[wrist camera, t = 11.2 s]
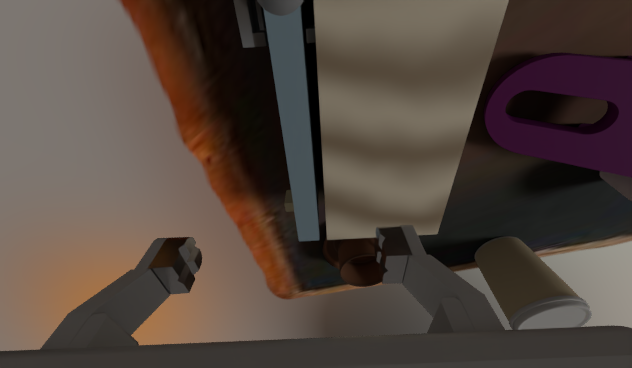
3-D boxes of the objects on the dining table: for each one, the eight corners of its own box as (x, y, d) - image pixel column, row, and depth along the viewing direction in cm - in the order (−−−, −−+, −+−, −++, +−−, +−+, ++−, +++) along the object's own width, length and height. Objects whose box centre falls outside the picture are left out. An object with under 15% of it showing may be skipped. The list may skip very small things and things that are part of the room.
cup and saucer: (328, 208, 37) (331, 240, 32) (406, 215, 38) (420, 247, 33) (317, 260, 44) (318, 292, 39) (383, 265, 45) (393, 297, 40)
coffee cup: (466, 272, 46) (508, 343, 36) (472, 237, 41) (523, 310, 31) (520, 264, 45) (579, 335, 35) (534, 227, 40) (607, 300, 30)
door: (258, -30, 21) (228, -52, 14) (306, -34, 21) (303, -59, 13) (291, 189, 35) (286, 242, 27) (321, 187, 35) (324, 240, 27)
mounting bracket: (467, 120, 36) (637, 152, 30) (470, 142, 29) (689, 190, 23) (500, 42, 30) (718, 63, 24) (513, 48, 23) (816, 79, 18)
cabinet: (249, -48, 21) (215, -79, 13) (457, -65, 20) (541, -108, 13) (288, 193, 35) (282, 242, 28) (410, 186, 35) (437, 234, 27)
